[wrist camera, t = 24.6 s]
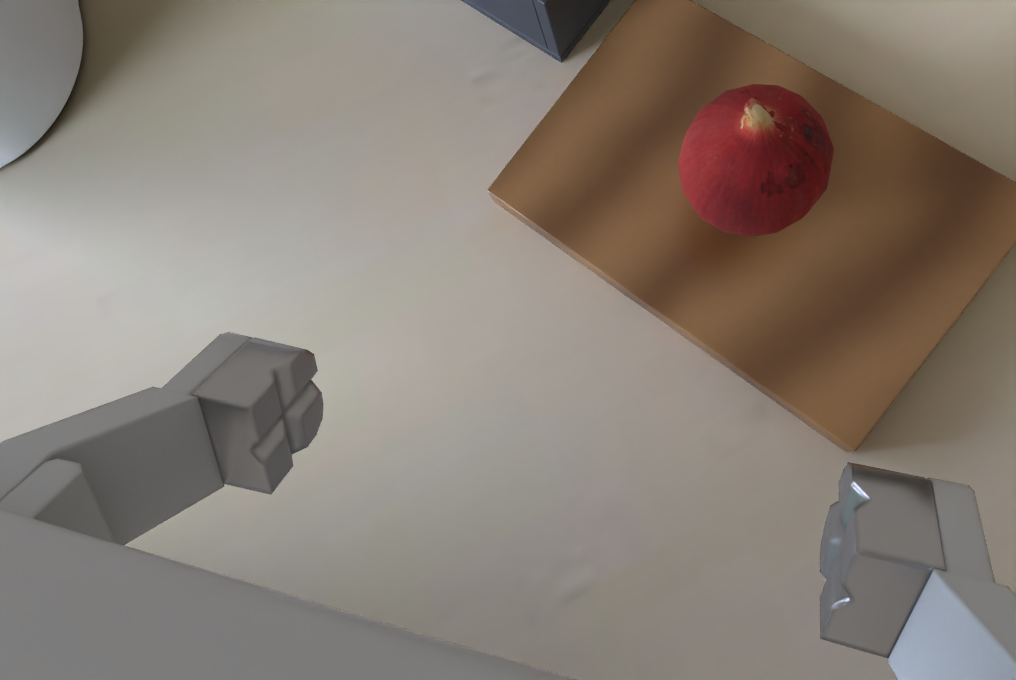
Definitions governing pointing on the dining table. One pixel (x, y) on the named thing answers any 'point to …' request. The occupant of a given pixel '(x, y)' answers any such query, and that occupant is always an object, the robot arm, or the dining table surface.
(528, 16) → the tub
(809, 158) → the red pomegranate
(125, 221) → the dining table surface
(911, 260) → the cutting board
